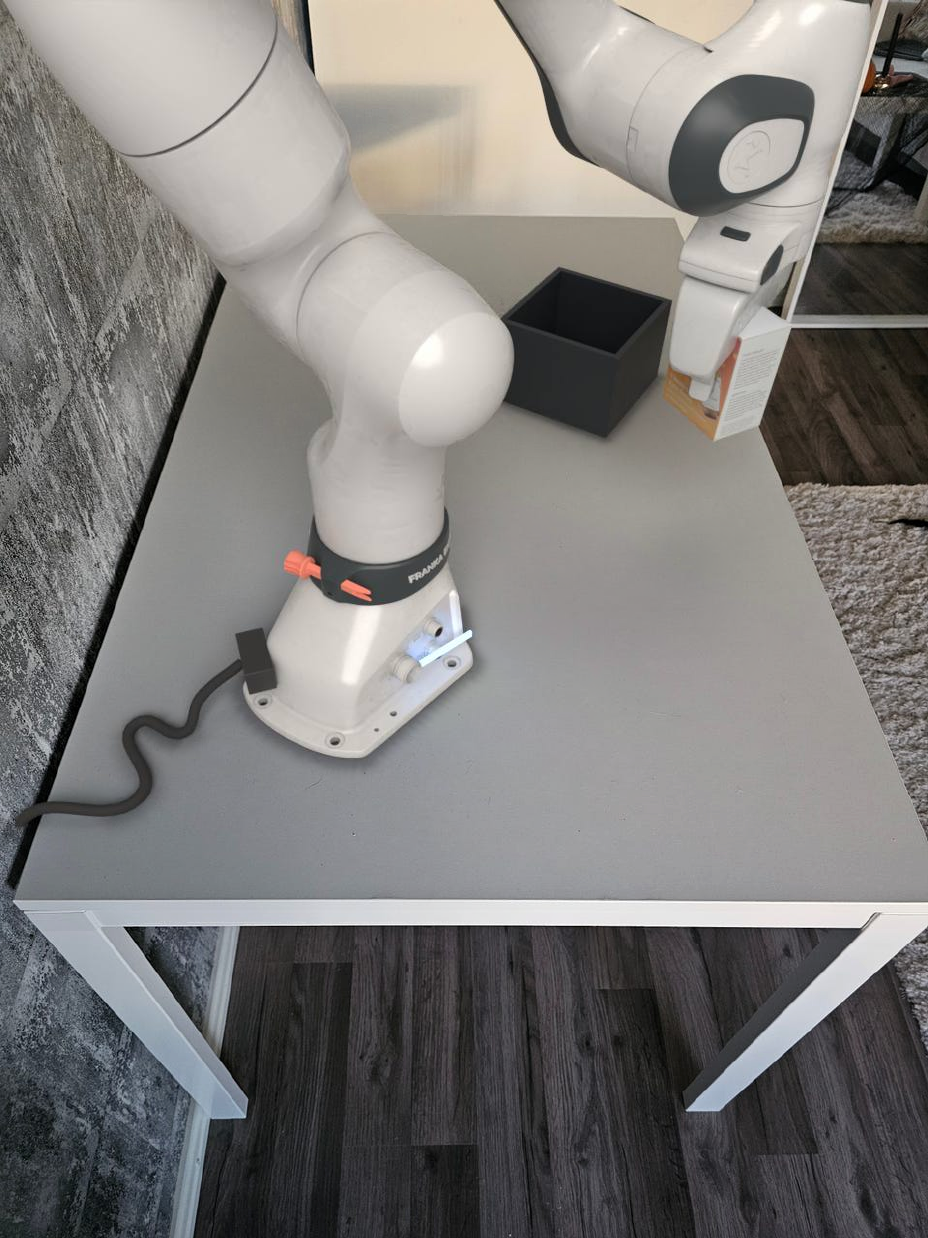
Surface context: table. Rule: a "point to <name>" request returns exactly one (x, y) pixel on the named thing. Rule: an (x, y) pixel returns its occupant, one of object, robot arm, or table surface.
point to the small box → (735, 380)
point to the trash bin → (584, 349)
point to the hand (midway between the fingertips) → (718, 372)
